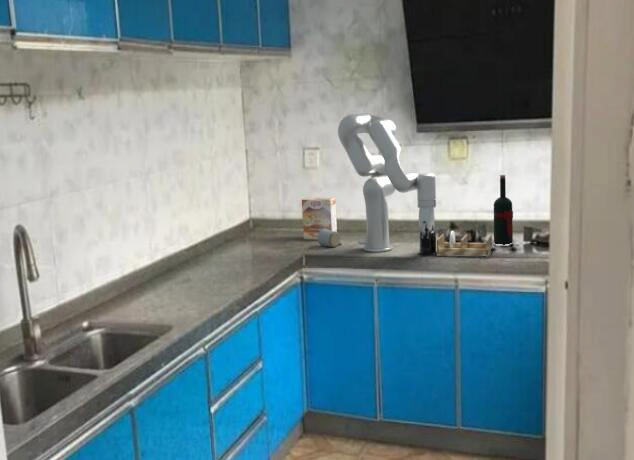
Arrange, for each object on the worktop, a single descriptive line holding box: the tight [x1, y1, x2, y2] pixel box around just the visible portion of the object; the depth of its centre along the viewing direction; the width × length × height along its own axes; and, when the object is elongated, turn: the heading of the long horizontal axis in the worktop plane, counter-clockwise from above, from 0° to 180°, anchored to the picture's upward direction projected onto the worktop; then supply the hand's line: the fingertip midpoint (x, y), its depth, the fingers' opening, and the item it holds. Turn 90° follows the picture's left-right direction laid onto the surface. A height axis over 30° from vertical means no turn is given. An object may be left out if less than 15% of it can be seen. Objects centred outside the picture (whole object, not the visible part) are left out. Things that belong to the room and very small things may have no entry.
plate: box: [449, 230, 456, 248], centre depth 296 cm, size 1×9×9 cm, turn 160°
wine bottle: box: [493, 174, 514, 245], centre depth 304 cm, size 8×10×30 cm
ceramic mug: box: [317, 229, 343, 248], centre depth 324 cm, size 11×8×8 cm
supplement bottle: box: [419, 225, 437, 255], centre depth 298 cm, size 7×7×12 cm
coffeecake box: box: [301, 197, 338, 241], centre depth 342 cm, size 15×7×20 cm, turn 67°
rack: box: [436, 233, 493, 257], centre depth 294 cm, size 20×12×7 cm, turn 69°
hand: (427, 245), depth 299 cm, fingers closed on supplement bottle, 6 cm apart
